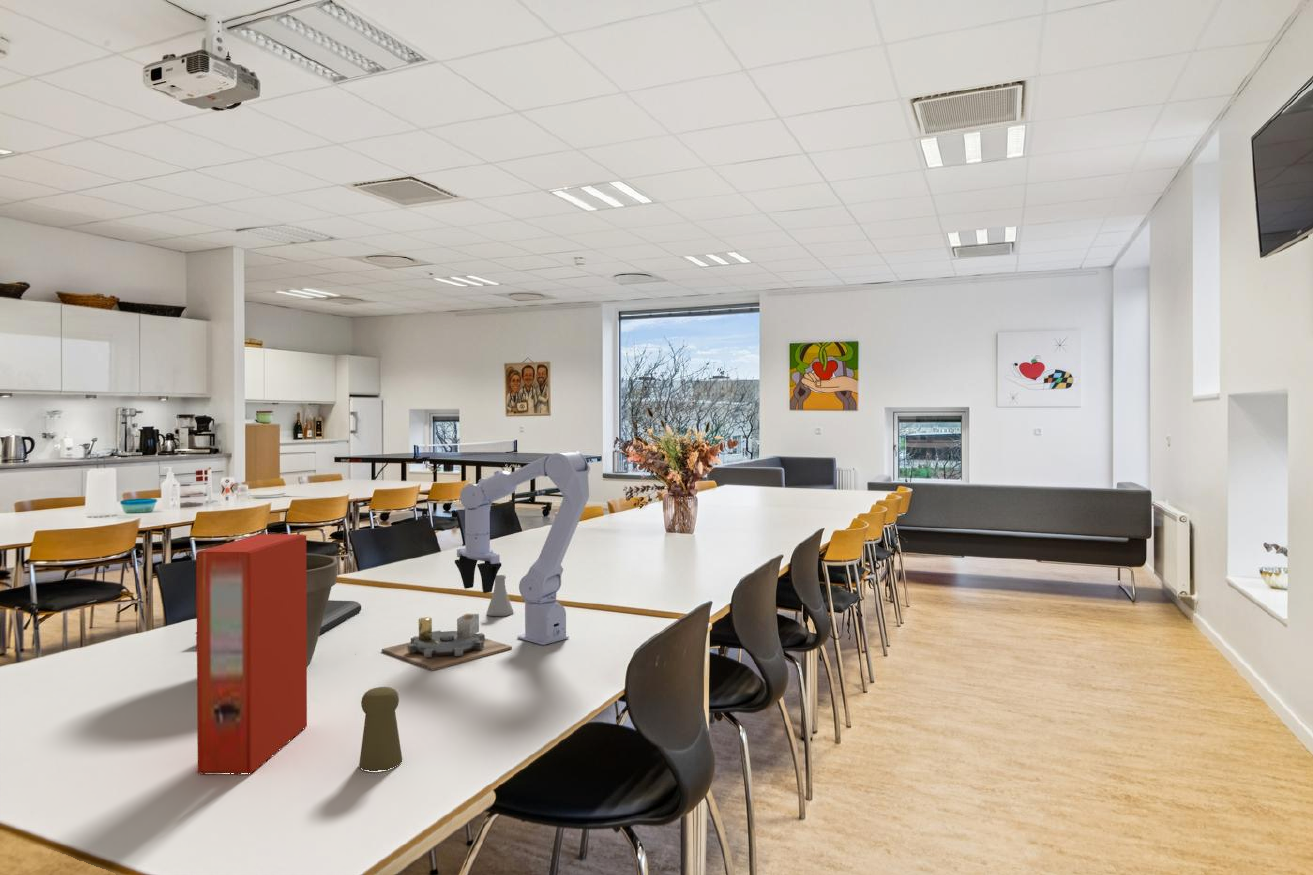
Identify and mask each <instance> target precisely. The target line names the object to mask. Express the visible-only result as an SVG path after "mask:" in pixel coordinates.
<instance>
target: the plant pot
mask: <svg viewBox="0 0 1313 875" xmlns="http://www.w3.org/2000/svg"><path fill="white" fill-rule="evenodd" d="M338 566H339V561H338V559H337V558H336V557H333V556H331V555H325V554H317V553H316V554H315V553H306V595H307V667H308V666H309V665H310V664H311V661H312V660H313V657H314V653H315V650H316V647H317V642H318V639H319V636H320V635H319V633H320V629H321V625H322V621H323V618H324V614H325V610H326V607H327V603H328V600H329V598H330V596H331V595H330V594H331V591H332V587H333V586H335V585H336V584H337V580H338Z"/></svg>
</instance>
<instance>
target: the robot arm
mask: <svg viewBox="0 0 1313 875" xmlns="http://www.w3.org/2000/svg"><path fill="white" fill-rule="evenodd" d="M590 470H591V467H590V465H589V463H588V461H587V458H586V456H584V455H583V453H581V452H579V451H570V452H562V453H561V452H555V453H552V454H550V455H546V456H542V457H540V458H538V459H536V460H534V461H532V462H530V463H527V464H526V465H524V466H522V467H520V468H518V469H516V470H514V471H512V472H510V471H508V470H501V469H499V470H496V471H494V472H493V475H490V476H489V477H487V478H480V479H479V480H478V482H477V483H468V484H466V485H465V486H464V487H462V489H461V491H460V494H459V500H460V502H461V504H462V505H463V507H464V518H465V519H464V523H465V524H464V525H465V526H464V528H465V530H464V532H465V536H464V537H465V543H464V544H465V548H457V549H456V558H457V559H455V560H454V564H455V565H456V567H457V569H458V571H459V574H460V577H461V581H462V586H463V588H464V589H465V590H467V589H471V588H474V583H475V572H476V567H477V568H478V571H479V574H480V579H481V587H482V588H481V589H482V593H484V594H488V593H493V590H494V586H495V578H496V575H497V574H498V572H499V571H500V568H501V567H502V562H500V560H501V559H500V558H501V557H500V554H498V553H495V552H494V549H491V548H490V547H491V546H490V545H491V544H490V543H491V539H490V537H491V536H490V535H491V534H490V533H491V532H490V529H491V527H490V522H491V521H490V520H491V519H490V514H491V513H490V512H491V506H492V504H493V503H494V502H495V501H496V502H497V501H498V500H500V499H503V498H505V497H507V496H509V495H511V494H513V493H515V491H516V489H517V486H519V485H522V484H524V483H526V482H529V481H531V480H534V479H537V478H538V477H545V478H546V477H548V478H549V479H550V480H551V482H552V483H553V484H554V485H555V486H556V487H557V488H558V490H559V491H560V493H561V496H562V497H563V498H562V501H561V503H560V506H559V508H558V509H557V513H556V515H555V517H554V519H553V522H552V525H551V527H550V530H549V532H548V535H547V537H546V540H545V542H544V544H543V546H542V549H541V551H540V554H539V556H538V558H537V559H536V561H534V563H533V564H531V566H530V567H529V569H528V571H527V573H526V574H525V575H523V577H522V578H521V579H520V581H519V583H518V590H519V594H520V596H521V598H523V599H524V600H523V601H524V612H525V613H524V619H525V620H524V629H525V631H524V632H525V633H522V634H519V635H517V638H518V639H520V640H524V641H527V642H530V643H535V644H538V645H542V646H545V645H549V644H552V643H556V642H559V641H562V640H566V639H569V638H570V636H569V635H568V634H567V611H566V609H565V607H564V605H562V604H560V603H559V602H558V600H557V593H558V591H559V590H560V589H561V586H562V575H563V573H564V568H563V566H562V562H563V560H564V557H565V555H566V553H567V552H568V548H569V546H570V544H571V541H572V539H573V537H574V534H575V532H576V530H577V528H578V525H579V522H580V519H581V516H582V515H583V512H584V511H585V508H586V505H587V503H588V500H589V498H590V487H589V474H590ZM478 561H481V562H482V563H478Z"/></svg>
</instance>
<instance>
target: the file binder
mask: <svg viewBox="0 0 1313 875" xmlns="http://www.w3.org/2000/svg"><path fill="white" fill-rule="evenodd" d="M306 554H307V535H306V534H302V533H301V534H291V533H289V534H288V533H287V534H284V533H280V534H279V533H278V534H277V533H269V534H268V533H265V534H264V533H259V534H256V535H252V536H249V537H245V538H242V539H237V540H235V541H231V542H227V543H224V544H220V545H216V546H212V547H209V548H206V549H203V550H201V549H200V550H199V551H198V550H197V552H196V556H195V557H196V559H195V560H196V562H195V563H196V575H195V576H196V632H197V634H196V636H197V647H196V694H197V695H196V698H197V700H196V701H197V703H196V705H197V706H196V710H197V712H196V713H197V714H196V716H197V717H196V718H197V719H196V721H197V722H196V726H197V730H196V731H197V735H196V736H197V737H196V739H197V774H201V773H203V774H202V775H206V774H205V773H230V774H231V773H234V774H241V773H248V774H249V773H250V774H251V773H252V772H253V771H254V770H256V769H257V768H258V767H259V766H260V765H261V766H263V765H264V764H265V763H266V762H267V761H268V760H267V759H269V758H270V757H271V756H272V755H273V754H274V753H276V752H277V751H278V750H279V749H280V748H281V749H283V748H284V747H285V746H286V745H287V744H288V743H289V742H288V741H289V740H291V739H292V738H293V737H294V736H295V737H297V736H298V735H299V734H300V733H301V732H302V731H301V730H302V729H303V728H305V727H306V728H307V726H308V706H307V705H308V695H307V694H308V685H307V682H308V672H307V671H308V670H307V669H308V668H307V667H308V666H307V595H306ZM306 728H305V729H306ZM300 731H301V732H300ZM299 732H300V733H299ZM298 733H299V734H298ZM297 734H298V735H297ZM296 735H297V736H296ZM295 737H294V738H295ZM294 738H293V739H294ZM293 739H292V740H293ZM292 740H291V741H292ZM287 742H288V743H287ZM286 743H287V744H286ZM285 744H286V745H285ZM284 745H285V746H284ZM283 746H284V747H283ZM282 747H283V748H282ZM281 749H280V750H281ZM280 750H279V751H280ZM279 751H278V752H279ZM278 752H277V753H278ZM277 753H276V754H277ZM274 755H275V754H274ZM274 755H273V756H274ZM273 756H272V757H273ZM272 757H271V758H272ZM271 758H270V759H271ZM270 759H269V760H270ZM266 760H267V761H266ZM265 761H266V762H265ZM264 762H265V763H264ZM263 763H264V764H263ZM262 764H263V765H262ZM261 766H260V767H261ZM260 767H259V768H260ZM259 768H258V769H259ZM258 769H257V770H258ZM257 770H256V771H257ZM254 772H255V771H254ZM254 772H253V773H254ZM253 773H252V774H253ZM252 774H251V775H252Z"/></svg>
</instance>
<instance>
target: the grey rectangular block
mask: <svg viewBox="0 0 1313 875" xmlns="http://www.w3.org/2000/svg"><path fill="white" fill-rule="evenodd" d="M479 614H480V613H464V614H463V615H461V616H460V617H458V618H457V619H456V631H457V637H471V636H473V635H474V634H478V633H480V619H479V618H480V615H479Z"/></svg>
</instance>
